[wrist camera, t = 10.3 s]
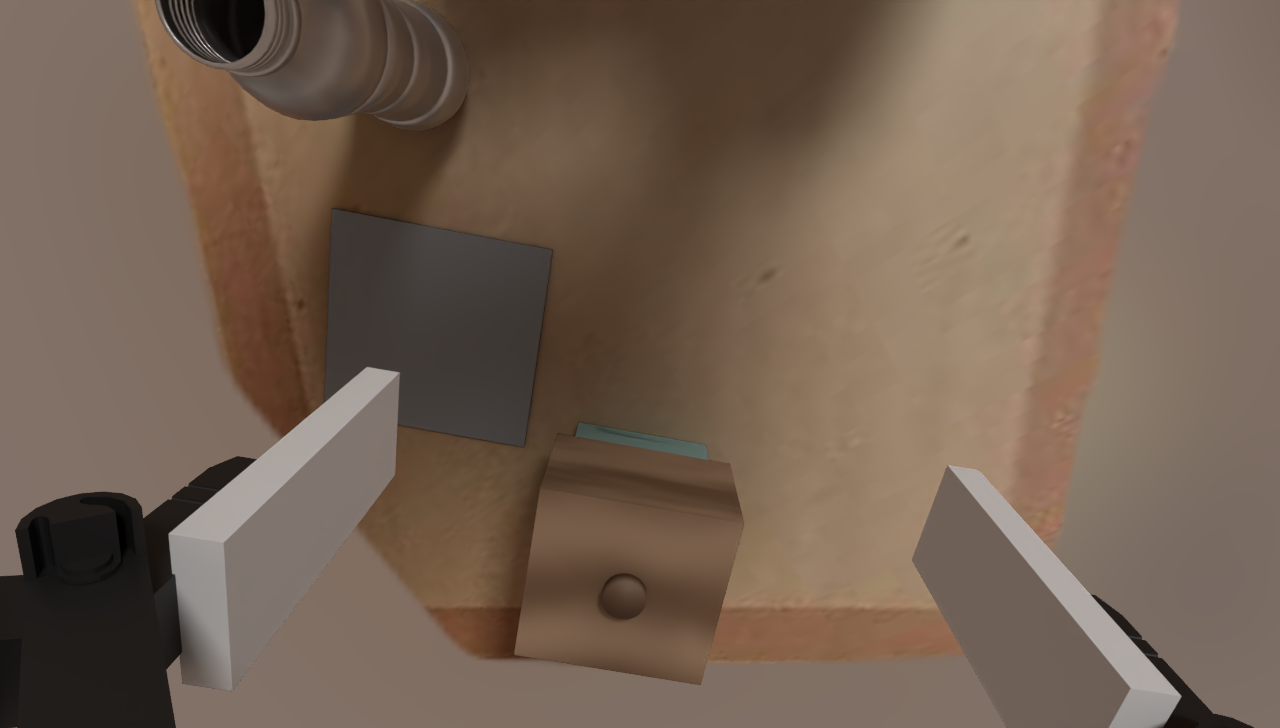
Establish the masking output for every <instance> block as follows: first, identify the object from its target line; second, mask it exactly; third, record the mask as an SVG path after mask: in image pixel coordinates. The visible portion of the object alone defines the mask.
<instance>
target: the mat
mask: <svg viewBox="0 0 1280 728" xmlns="http://www.w3.org/2000/svg"><path fill="white" fill-rule="evenodd" d="M552 252H553V250H551V249H545V248H540V247H535V246H530V245H524V244H519V243H514V242H508V241H503V240H498V239H492V238H487V237H482V236H477V235H471V234H466V233H461V232H455V231H450V230H445V229H439V228H434V227H429V226H423V225H418V224H413V223H408V222H402V221H397V220H392V219H386V218H381V217H376V216H370V215H365V214H360V213H355V212H349V211H344V210H339V209H332V218H331V243H330V269H329V295H328V321H327V346H326V372H325V398H324V403H325V402H326V401H327V400H328V399H330V398H331V397H332V396H333V395H334V394H335V393H337V392H338V391H339V390H340V389H341V388H343V387H344V386H345V385H346V384H347V383H349V382H350V381H351V380H352V379H353V378H354V377H356V376H357V375H358V374H359V373H360V372H362V371H363V370H364V369H365V368H366V367H370V368H376V369H382V370H388V371H394V372H400V379H399V400H398V422H397V425H402V426H408V427H413V428H419V429H425V430H430V431H436V432H442V433H447V434H453V435H459V436H464V437H470V438H476V439H482V440H487V441H493V442H499V443H504V444H510V445H516V446H521V447H524V445H525V439H526V432H527V425H528V418H529V411H530V404H531V397H532V390H533V383H534V376H535V369H536V362H537V355H538V348H539V342H540V335H541V328H542V321H543V314H544V307H545V300H546V293H547V286H548V279H549V272H550V265H551V258H552Z"/></svg>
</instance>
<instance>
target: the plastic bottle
mask: <svg viewBox="0 0 1280 728" xmlns="http://www.w3.org/2000/svg"><path fill="white" fill-rule="evenodd" d="M155 4H156V8H157V11H158V14H159V17H160V20H161V22H162V24H163V26H164V28H165V30H166V31H167V33H168V34H169V36H170V37H171V39H172V40H173V42H174V43H175V44H176V45H177V46H178V47H179V48H180V49H181V50H182V51H183V52H185V53H186V54H187V55H189V56H190V57H191V58H193V59H194V60H196V61H198V62H200V63H202V64H205V65H206V66H209V67H213V68H216V69H222V70H225V71H227V72H229V73H230V75H231V76H232V77H233V79H234V80H235V81H236V82H237V83H238V84H239V85H240V86H241V87H242V88H243V89H244V90H245V91H246V92H248V93H249V94H250V95H252V96H253V97H254V98H256V99H257V100H258V101H260V102H261V103H263V104H264V105H265V106H267V107H268V108H270V109H272V110H274V111H276V112H278V113H280V114H282V115H284V116H288V117H291V118H295V119H298V120H311V121H317V120H329V119H336V118H340V117H344V116H348V115H352V114H356V113H368V114H371V115H373V116H375V117H376V118H377V119H379V120H381V121H383V122H385V123H387V124H389V125H391V126H393V127H396V128H399V129H403V130H406V131H423V130H428V129H431V128H434V127H436V126H439V125H440V124H442V123H444V122H445V121H447V120H448V119H450V118H451V117H452V116H453V115H454V114H455V113H456V112H457V111H458V110H459V108H460V106H461V105H462V103H463V101H464V99H465V96H466V93H467V90H468V84H469V65H468V60H467V55H466V53H465V50H464V47H463V45H462V43H461V41H460V40H459V38H458V36H457V34H456V33H455V31H454V29H453V28H452V27H451V25H450V24H449V23H448V22H447V21H446V19H445V18H444V17H443V16H441V15H440V14H439V13H438V12H437V11H435V10H434V9H432V8H430V7H429V6H427V5H425V4H423V3H420V2H416V1H413V0H155Z"/></svg>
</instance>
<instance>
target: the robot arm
mask: <svg viewBox="0 0 1280 728" xmlns="http://www.w3.org/2000/svg"><path fill="white" fill-rule="evenodd" d="M399 379H400V372H394V371H388V370H382V369H376V368H370V367H366V368H365V369H364V370H363V371H362V372H360V373H359V374H358V375H357V376H356V377H354V378H353V379H352V380H351V381H350V382H349V383H347V384H346V385H345V386H344V387H343V388H341V389H340V390H339V391H338V392H337V393H335V394H334V395H333V396H332V397H331V398H330V399H328V400H327V401H326V402H325V403H324V404H322V405H321V406H320V407H319V408H318V409H316V410H315V411H314V412H313V413H312V414H310V415H309V416H308V417H307V418H306V419H305V420H303V421H302V422H301V423H300V424H299V425H297V426H296V427H295V428H294V429H293V430H291V431H290V432H289V433H288V434H287V435H285V436H284V437H283V438H282V439H281V440H280V441H278V442H277V443H276V444H275V445H274V446H273V447H271V448H270V449H269V450H268V451H266V452H265V453H264V454H263V455H262V456H261V457H259V458H258V459H251V458H245V457H239V456H237V457H235V458H232V459H230V460H227V461H225V462H222V463H220V464H218V465H215V466H213V467H210V468H208V469H207V470H206V471H204V472H203V473H202V474H201V475H199V476H198V477H197V478H195V479H194V480H193V481H191V482H190V483H189V486H188V487H184V488H182V489H181V490H180V491H179V492H177V493H176V494H175V495H173V496H172V499H171V500H167V501H165V502H164V503H163V504H162V505H160V506H159V507H158V508H156V509H155V510H154V511H152V512H151V513H150V514H149V515H147V516H146V517H145V518H143V515H142V507H141V505H140V504H139V503H138V501H137V500H136V499H135V498H132V497H130V496H127V495H125V494H122V493H112V492H94V493H82V494H77V495H73V496H69V497H64V498H61V499H57V500H54V501H52V502H50V503H47V504H45V505H42V506H40V507H38V508H36V509H34V510H33V511H32V512H30V513H29V514H28V515H26V516H25V517H24V518H22V519H21V521H20V522H19V524H18V526H17V528H16V530H15V532H16V537H17V543H18V548H19V553H20V559H21V564H22V569H23V575H17V576H0V728H14V727H17V728H176V726H175V720H174V714H173V708H172V702H171V696H170V690H169V684H168V678H167V672H166V669H167V668H168V667H169V666H170V665H171V664H172V663H173V661H174V660H175V659H176V658H177V657H178V656H179V655H180V663H181V674H182V684H187V685H193V686H200V687H206V688H213V689H220V690H226V691H233V690H234V689H235V687H236V686H237V685H238V683H239V682H240V681H241V679H242V678H243V677H244V675H245V674H246V673H247V671H248V670H249V669H250V667H251V666H252V665H253V663H254V662H255V661H256V659H257V658H258V657H259V655H260V654H261V653H262V651H263V650H264V649H265V647H266V646H267V645H268V643H269V642H270V641H271V639H272V638H273V637H274V635H275V634H276V633H277V631H278V630H279V629H280V627H281V626H282V625H283V623H284V622H285V621H286V619H287V618H288V617H289V615H290V614H291V612H292V611H293V610H294V609H295V607H296V606H297V605H298V603H299V602H300V601H301V599H302V598H303V596H304V595H305V594H306V593H307V591H308V590H309V589H310V587H311V586H312V585H313V583H314V582H315V581H316V579H317V578H318V577H319V575H320V574H321V573H322V571H323V570H324V569H325V567H326V566H327V565H328V563H329V562H330V561H331V559H332V558H333V557H334V555H335V554H336V553H337V551H338V550H339V549H340V547H341V546H342V545H343V543H344V542H345V541H346V539H347V538H348V537H349V536H350V534H351V533H352V532H353V530H354V529H355V528H356V526H357V525H358V524H359V522H360V521H361V520H362V518H363V517H364V516H365V514H366V513H367V512H368V510H369V509H370V508H371V506H372V505H373V504H374V502H375V501H376V500H377V498H378V497H379V496H380V494H381V493H382V492H383V490H384V489H385V488H386V486H387V485H388V484H389V482H390V481H391V480H392V478H393V477H394V476H395V465H396V443H397V422H398V400H399ZM912 561H913V563H914V565H915V566H916V568H917V570H918V572H919V573H920V575H921V577H922V579H923V581H924V582H925V584H926V586H927V588H928V589H929V591H930V593H931V595H932V597H933V598H934V600H935V602H936V604H937V605H938V607H939V609H940V611H941V613H942V614H943V616H944V618H945V620H946V621H947V623H948V625H949V627H950V628H951V630H952V632H953V634H954V636H955V637H956V639H957V641H958V643H959V644H960V646H961V648H962V650H963V652H964V653H965V655H966V657H967V659H968V660H969V662H970V664H971V666H972V667H973V669H974V671H975V673H976V675H977V676H978V678H979V680H980V682H981V683H982V685H983V687H984V689H985V691H986V692H987V694H988V696H989V698H990V699H991V701H992V703H993V705H994V707H995V708H996V710H997V712H998V713H999V715H1000V717H1001V719H1002V721H1003V722H1004V724H1005V726H1006V728H1254V727H1252V726H1250V725H1247V724H1245V723H1243V722H1240V721H1238V720H1236V719H1234V718H1230V717H1226V716H1222V715H1218V714H1213V713H1212V712H1211V711H1210V710H1209V709H1208V707H1207V706H1206V705H1205V704H1204V703H1203V702H1202V701H1201V700H1200V699H1199V698H1198V697H1197V696H1196V695H1195V694H1194V692H1193V691H1192V690H1191V689H1190V688H1189V687H1188V686H1187V685H1186V684H1185V683H1184V681H1183V680H1182V679H1181V678H1180V677H1179V676H1178V675H1177V674H1176V673H1175V672H1174V671H1173V670H1172V668H1170V666H1169V665H1168V664H1167V663H1166V662H1165V661H1164V660H1163V659H1162V658H1158V653H1157V652H1156V651H1155V650H1154V649H1153V648H1152V647H1151V646H1150V645H1149V644H1148V643H1147V641H1145V640H1142V636H1141V635H1140V634H1139V633H1138V632H1137V631H1136V630H1135V629H1134V627H1133V626H1132V625H1131V624H1130V623H1129V622H1128V621H1127V620H1126V619H1125V618H1124V617H1123V616H1122V615H1121V614H1120V613H1119V612H1117V611H1116V610H1114V609H1113V608H1112V607H1110V606H1109V605H1108V604H1106V603H1105V602H1103V601H1102V600H1101V599H1100V598H1098V597H1097V596H1095V595H1091V594H1089V593H1088V591H1087V590H1086V589H1085V588H1084V587H1083V586H1082V585H1081V584H1080V583H1079V581H1078V580H1077V579H1076V578H1075V577H1074V576H1073V575H1072V574H1071V573H1070V572H1069V570H1068V569H1067V568H1066V567H1065V566H1064V565H1063V564H1062V562H1061V561H1060V560H1059V559H1058V558H1057V557H1056V556H1055V555H1054V554H1053V552H1052V551H1051V550H1050V549H1049V548H1048V547H1047V546H1046V545H1045V544H1044V542H1043V541H1042V540H1041V539H1040V538H1039V537H1038V536H1037V535H1036V533H1035V532H1034V531H1033V530H1032V529H1031V528H1030V527H1029V526H1028V525H1027V523H1026V522H1025V521H1024V520H1023V519H1022V518H1021V517H1020V516H1019V515H1018V513H1017V512H1016V511H1015V510H1014V509H1013V508H1012V507H1011V506H1010V505H1009V503H1008V502H1007V501H1006V500H1005V499H1004V498H1003V497H1002V496H1001V494H1000V493H999V492H998V491H997V490H996V489H995V488H994V487H993V486H992V484H991V483H990V482H989V481H988V480H987V479H986V478H985V477H984V476H983V474H982V473H981V472H980V471H979V470H974V469H968V468H962V467H957V466H951V465H947V468H946V470H945V473H944V476H943V478H942V481H941V484H940V486H939V489H938V492H937V494H936V497H935V500H934V502H933V505H932V508H931V510H930V513H929V516H928V518H927V521H926V524H925V526H924V529H923V532H922V534H921V537H920V540H919V542H918V545H917V548H916V550H915V553H914V556H913V558H912Z"/></svg>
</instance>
